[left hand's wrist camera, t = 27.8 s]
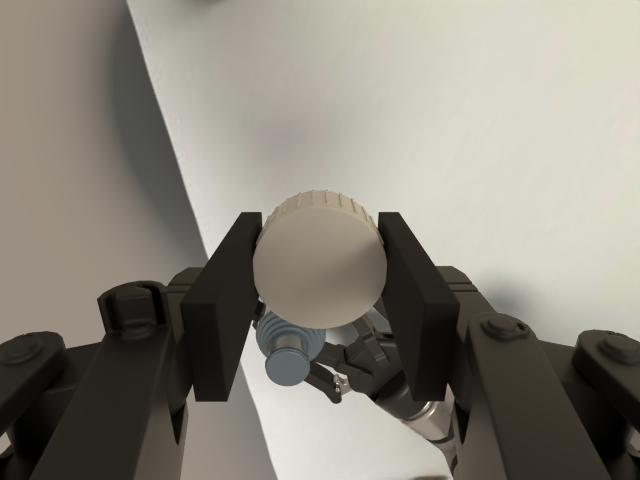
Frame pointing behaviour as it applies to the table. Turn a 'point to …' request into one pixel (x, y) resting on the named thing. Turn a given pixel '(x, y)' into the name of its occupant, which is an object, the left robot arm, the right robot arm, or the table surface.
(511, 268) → the table surface
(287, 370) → the bottle
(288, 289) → the cap
